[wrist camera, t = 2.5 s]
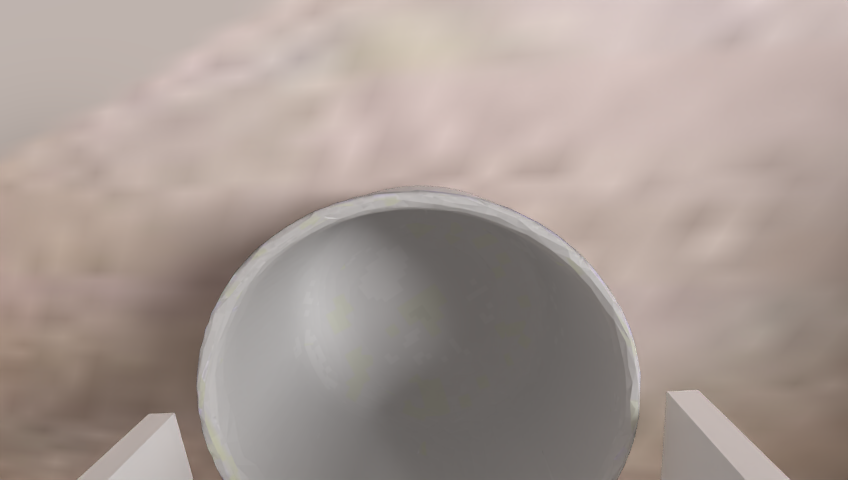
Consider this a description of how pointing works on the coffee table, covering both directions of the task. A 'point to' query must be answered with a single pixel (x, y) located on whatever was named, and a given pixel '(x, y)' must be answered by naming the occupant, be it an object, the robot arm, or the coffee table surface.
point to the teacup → (418, 350)
